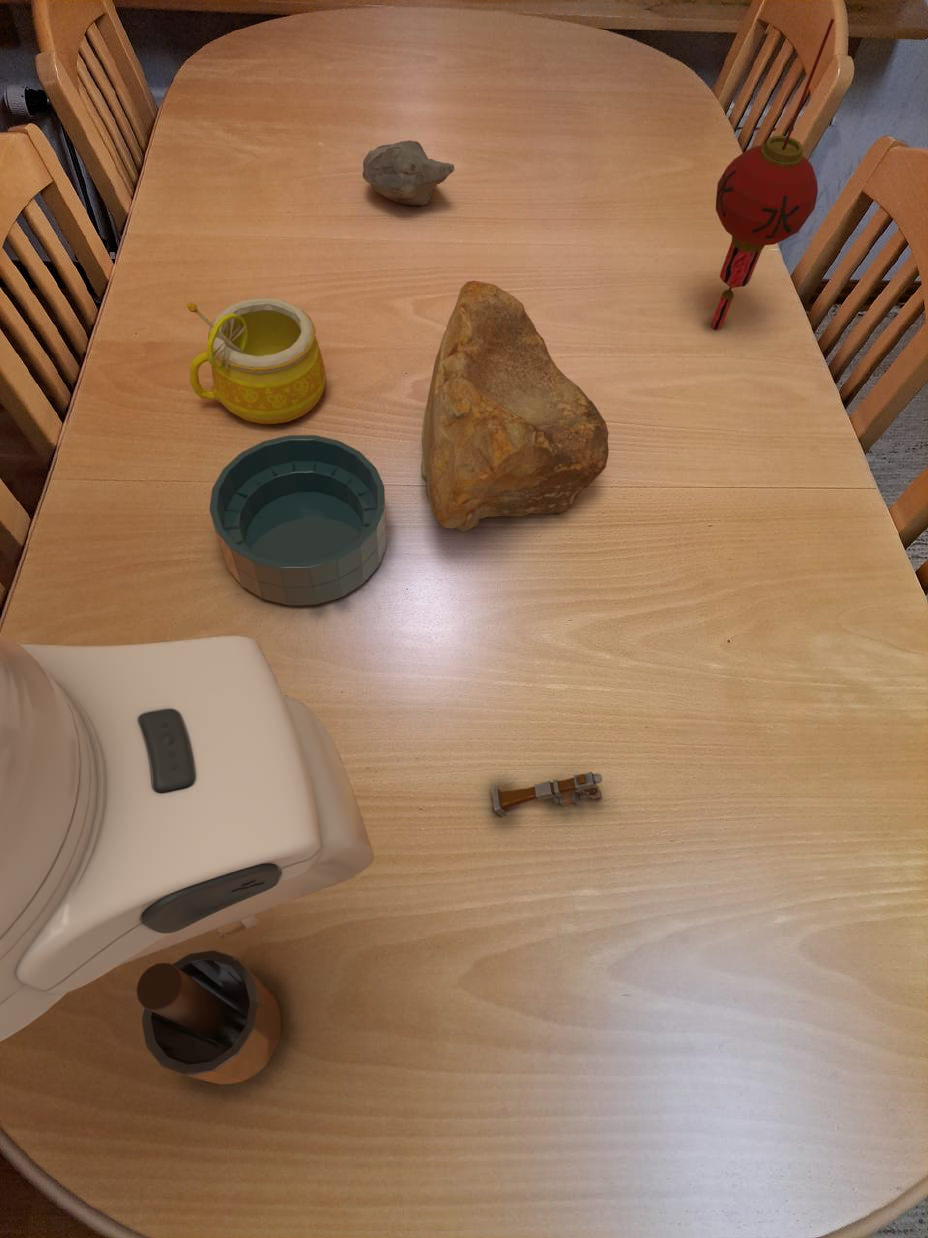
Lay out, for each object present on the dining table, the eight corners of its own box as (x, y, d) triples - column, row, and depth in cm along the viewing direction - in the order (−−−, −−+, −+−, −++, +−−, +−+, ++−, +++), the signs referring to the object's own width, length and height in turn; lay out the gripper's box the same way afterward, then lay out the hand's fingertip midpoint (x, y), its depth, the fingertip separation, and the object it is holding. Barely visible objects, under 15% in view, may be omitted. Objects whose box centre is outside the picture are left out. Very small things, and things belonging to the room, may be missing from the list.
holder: (197, 1102, 51) (154, 1095, 42) (176, 999, 53) (132, 974, 45) (293, 1061, 52) (270, 1047, 44) (268, 964, 55) (242, 933, 46)
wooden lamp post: (615, 804, 61) (601, 786, 57) (512, 825, 63) (493, 809, 59) (610, 780, 62) (596, 761, 58) (509, 803, 64) (490, 785, 60)
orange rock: (591, 593, 73) (647, 476, 61) (405, 568, 72) (423, 443, 59) (585, 412, 86) (629, 285, 74) (427, 387, 85) (445, 254, 72)
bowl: (246, 629, 68) (233, 588, 63) (208, 503, 75) (193, 457, 70) (408, 582, 72) (408, 539, 67) (358, 465, 78) (354, 419, 73)
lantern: (680, 353, 89) (788, 44, 64) (668, 297, 94) (763, -11, 69) (766, 356, 90) (906, 50, 64) (749, 300, 95) (873, -5, 69)
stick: (220, 1052, 51) (140, 1018, 36) (213, 1019, 52) (132, 972, 37) (252, 1039, 52) (186, 1000, 37) (244, 1006, 53) (177, 955, 38)
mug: (308, 346, 87) (295, 241, 77) (341, 417, 82) (331, 315, 71) (186, 373, 84) (155, 268, 73) (212, 449, 78) (182, 347, 68)
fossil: (456, 186, 104) (460, 120, 97) (449, 229, 99) (452, 162, 92) (368, 176, 104) (365, 109, 97) (356, 219, 99) (353, 151, 92)
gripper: (-679, 1212, 15) (-202, 1176, 27) (383, 824, 20) (394, 938, 32) (-596, 884, 18) (-199, 981, 30) (309, 615, 23) (345, 790, 35)
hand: (111, 957), depth 31 cm, fingers open, 8 cm apart
